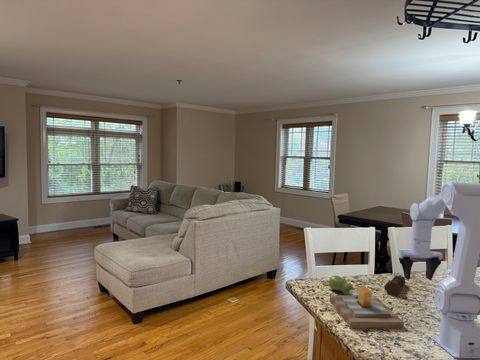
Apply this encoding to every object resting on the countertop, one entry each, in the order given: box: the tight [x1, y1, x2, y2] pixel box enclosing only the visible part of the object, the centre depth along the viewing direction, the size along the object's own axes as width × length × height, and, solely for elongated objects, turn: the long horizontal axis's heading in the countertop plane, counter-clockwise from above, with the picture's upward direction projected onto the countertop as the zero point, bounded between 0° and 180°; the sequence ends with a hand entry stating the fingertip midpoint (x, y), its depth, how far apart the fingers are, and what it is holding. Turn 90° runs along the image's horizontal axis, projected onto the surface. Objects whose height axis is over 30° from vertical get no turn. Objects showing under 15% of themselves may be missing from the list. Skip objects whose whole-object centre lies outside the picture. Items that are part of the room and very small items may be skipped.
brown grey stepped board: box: [329, 289, 405, 330], centre depth 104 cm, size 18×16×4 cm
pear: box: [328, 275, 356, 296], centre depth 121 cm, size 6×5×10 cm
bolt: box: [383, 274, 407, 297], centre depth 126 cm, size 6×5×15 cm
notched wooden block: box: [357, 285, 373, 308], centre depth 104 cm, size 5×2×8 cm, turn 3°
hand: (417, 278), depth 111 cm, fingers open, 7 cm apart
